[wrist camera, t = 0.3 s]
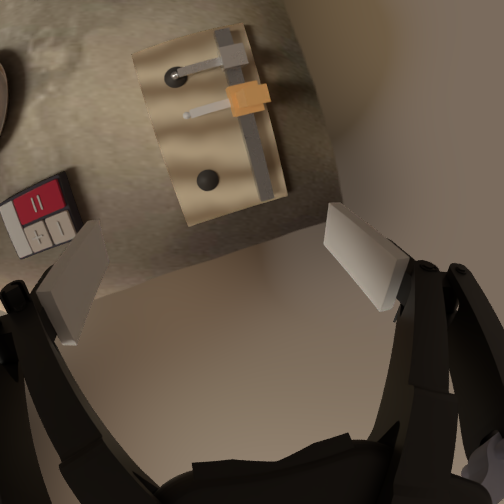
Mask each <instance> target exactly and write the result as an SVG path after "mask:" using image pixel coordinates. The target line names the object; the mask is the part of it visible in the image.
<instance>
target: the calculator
mask: <svg viewBox="0 0 504 504" xmlns="http://www.w3.org/2000/svg"><path fill="white" fill-rule="evenodd" d="M0 214H1V216H2V219H3V222H4V224H5V227H6V229H7V232H8V234H9V236H10V239H11V241H12V243H13V246H14V248H15V250H16V252H17V254H18V256H19V258H20V259H24V258H27V257H29V256H32V255H34V254H37V253H40V252H42V251H45V250H48V249H51V248H53V247H56V246H59V245H62V244H65V243H67V242H70V241H72V240H73V238H74V237H75V236H76V234H77V233H78V232H79V231H80V229H81V228H82V227H83V226H84V225H83V223H82V220H81V217H80V214H79V212H78V209H77V206H76V203H75V200H74V197H73V194H72V191H71V188H70V185H69V182H68V178H67V175H66V172H65V171H63V172H60V173H58V174H56V175H54V176H51V177H49V178H47V179H45V180H43V181H41V182H39V183H37V184H35V185H33V186H31V187H29V188H27V189H25V190H23V191H21V192H19V193H17V194H15V195H13V196H11V197H10V198H8V199H6V200H5V201H3V202H2V203H0Z"/></svg>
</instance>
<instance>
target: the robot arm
mask: <svg viewBox="0 0 504 504" xmlns="http://www.w3.org/2000/svg"><path fill="white" fill-rule="evenodd" d="M324 246H325V247H326V248H327V249H328V250H329V251H330V252H331V253H332V255H333V256H334V257H335V258H336V259H337V261H338V262H339V263H340V264H341V265H342V266H343V268H344V269H345V270H346V271H347V272H348V273H349V275H350V276H351V277H352V278H353V280H354V281H355V282H356V283H357V284H358V286H359V287H360V288H361V289H362V291H363V292H364V293H365V294H366V295H367V297H368V298H369V299H370V300H371V302H372V303H373V304H374V305H375V307H376V308H377V309H378V310H379V312H381V311H386V310H389V309H392V308H393V305H394V303H395V300H396V298H397V299H398V300H399V301H400V303H401V304H400V306H399V308H398V311H397V313H396V316H395V318H394V321H393V322H396V320H397V322H396V329H395V336H394V343H393V348H392V354H391V359H390V364H389V369H388V375H387V379H386V383H385V388H384V392H383V396H382V400H381V404H380V407H379V411H378V415H377V418H376V422H375V425H374V428H373V430H372V432H371V434H370V436H369V437H368V439H367V440H351V438H350V435H349V433H345V434H342V435H339V436H336V437H333V438H330V439H326V440H323V441H320V442H316V443H313V444H311V445H310V446H308V447H306V448H304V449H302V450H300V451H298V452H296V453H294V454H292V455H290V456H288V457H286V458H284V459H282V460H279V461H275V462H266V461H246V460H234V459H231V460H222V461H211V462H196V463H192V468H193V470H192V471H189V472H186V473H183V474H181V475H178V476H176V477H174V478H172V479H171V480H169V481H168V482H166V483H165V484H163V485H162V486H161V487H159V486H158V485H157V484H156V483H155V482H154V481H153V480H152V479H151V478H150V477H149V476H148V475H146V474H145V473H144V472H143V471H142V470H141V469H140V468H139V467H138V466H137V465H136V464H135V462H134V461H133V460H132V459H131V458H130V457H129V456H128V454H127V453H126V452H125V451H124V450H123V448H122V447H121V446H120V445H119V443H118V442H117V441H116V440H115V438H114V437H113V436H112V435H111V433H110V432H109V431H108V429H107V428H106V427H105V425H104V424H103V423H102V421H101V420H100V418H99V417H98V415H97V414H96V413H95V411H94V410H93V408H92V407H91V405H90V404H89V402H88V400H87V399H86V397H85V396H84V394H83V393H82V391H81V389H80V388H79V386H78V384H77V383H76V381H75V379H74V378H73V376H72V374H71V372H70V370H69V369H68V367H67V365H66V363H65V361H64V359H63V357H62V356H61V354H60V352H59V349H58V347H57V346H56V344H55V342H54V341H55V338H56V336H58V338H59V339H60V341H61V343H62V345H77V343H78V340H79V337H80V334H81V332H82V328H83V326H84V323H85V320H86V318H87V315H88V312H89V310H90V307H91V305H92V302H93V300H94V297H95V295H96V292H97V290H98V287H99V285H100V283H101V280H102V278H103V276H104V274H105V271H106V269H107V267H108V265H109V258H108V254H107V250H106V246H105V242H104V238H103V233H102V229H101V224H100V219H96V220H89V221H87V222H86V223H85V225H84V226H83V227H82V228H81V229H80V231H79V232H78V233H77V234H76V236H75V237H74V238H73V240H72V241H71V242H70V243H69V245H68V246H67V247H66V249H65V250H64V251H63V253H62V254H61V255H60V257H59V258H58V260H57V261H56V262H55V264H53V265H52V266H50V267H49V268H48V269H47V270H46V271H45V272H44V273H43V275H42V276H41V278H40V279H39V281H38V283H37V284H36V285H35V287H34V288H33V290H32V291H31V293H30V294H29V292H28V289H27V287H26V285H25V283H24V281H23V280H15V281H13V282H10V283H9V284H7V285H6V286H5V287H4V288H3V289H2V290H1V292H0V300H1V302H2V304H3V306H4V308H5V309H6V311H7V313H8V314H7V315H3V316H0V504H52V502H51V500H50V497H49V495H48V492H47V489H46V486H45V483H44V480H43V477H42V474H41V471H40V467H39V464H38V460H37V456H36V452H35V448H34V444H33V439H32V434H31V429H30V423H29V417H28V411H27V403H26V395H25V384H24V378H25V381H26V384H27V387H28V390H29V392H30V395H31V397H32V400H33V403H34V405H35V407H36V410H37V412H38V414H39V417H40V419H41V421H42V423H43V425H44V428H45V430H46V432H47V434H48V436H49V438H50V440H51V442H52V444H53V445H54V447H55V449H56V451H57V453H58V455H59V457H60V459H61V462H62V463H61V464H59V469H60V472H61V474H62V476H63V477H64V479H65V480H66V482H67V484H68V485H69V487H70V488H71V490H72V491H73V493H74V494H75V496H76V497H77V499H78V500H79V502H80V503H81V504H498V503H499V502H500V501H501V500H502V499H503V498H504V329H503V327H502V325H501V323H500V321H499V319H498V317H497V315H496V313H495V312H494V310H493V309H492V306H491V304H490V303H489V301H488V299H487V297H486V296H485V294H484V293H483V291H482V289H481V288H480V286H479V284H478V283H477V281H476V280H475V278H474V276H473V275H472V273H471V272H470V271H469V270H468V269H467V268H466V267H465V266H464V265H462V264H457V263H452V264H450V266H449V269H448V271H447V272H440V271H439V269H438V268H437V267H436V266H435V265H434V264H432V263H430V262H428V261H424V260H418V261H415V260H414V259H413V258H412V257H411V256H410V255H408V254H407V253H406V252H405V251H403V250H402V249H401V248H400V247H399V246H397V245H396V244H395V243H394V242H393V241H391V240H389V239H387V238H386V237H384V236H383V235H382V234H381V233H379V232H378V231H377V230H375V229H374V228H373V227H372V226H371V225H369V224H368V223H367V222H365V221H364V220H363V219H361V218H360V217H359V216H357V215H356V214H355V213H353V212H352V211H351V210H349V209H348V208H347V207H345V206H344V205H343V204H341V203H329V207H328V215H327V222H326V230H325V237H324ZM458 305H459V308H458V311H457V310H456V309H457V307H458ZM449 371H450V375H451V379H452V383H453V388H454V392H455V394H451V393H449ZM458 414H459V421H460V427H461V434H462V440H463V445H464V450H465V454H466V457H467V460H468V464H467V465H466V466H465V467H464V468H463V469H462V472H461V476H462V477H461V476H458V475H455V474H452V473H451V469H452V464H453V457H454V450H455V442H456V433H457V420H458Z"/></svg>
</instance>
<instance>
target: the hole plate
mask: <svg viewBox="0 0 504 504" xmlns="http://www.w3.org/2000/svg"><path fill="white" fill-rule="evenodd" d="M224 28H229V29H230V33H231V36H232V39H233V42H234V44H238V43H243V45H244V49H245V52H246V55H247V59H248V62H249V63H248V64H247V65H246V66H245V67H243V68H241V70H242V73H243V77H244V80H245V83H246V82H251V81H255V80H257V82H258V85H261V83H260V79H259V75H258V72H257V68H256V65H255V61H254V58H253V54H252V51H251V47H250V44H249V41H248V37H247V34H246V31H245V28H244V24H243V23H239V24H233V25H228V26H223V27H218V28H213V29H209V30H205V31H201V32H197V33H193V34H190V35H186V36H183V37H179V38H176V39H173V40H170V41H166V42H163V43H161V44H158V45H155V46H152V47H149V48H147V49H144V50H141V51H139V52H136V53H134V54H131V55H132V59H133V62H134V66H135V69H136V73H137V76H138V80H139V83H140V87H141V90H142V93H143V97H144V100H145V103H146V106H147V110H148V113H149V116H150V119H151V122H152V125H153V129H154V132H155V135H156V138H157V141H158V144H159V147H160V150H161V153H162V155H163V158H164V161H165V164H166V167H167V170H168V173H169V175H170V178H171V181H172V184H173V187H174V189H175V192H176V195H177V198H178V200H179V203H180V206H181V208H182V211H183V214H184V216H185V219H186V221H187V224H188V227H190V226H192V225H195V224H198V223H201V222H204V221H207V220H211V219H214V218H217V217H220V216H223V215H226V214H229V213H232V212H235V211H239V210H242V209H245V208H248V207H251V206H255V205H258V204H261V203H265V202H268V201H271V200H275V199H278V198H281V197H285V196H288V195H287V190H286V185H285V181H284V176H283V172H282V167H281V163H280V158H279V154H278V150H277V146H276V141H275V137H274V133H273V129H272V125H271V121H270V117H269V113H268V109H267V105H266V103H263V104H264V108H265V110H263V111H258V112H254V117H255V121H256V125H257V128H258V132H259V136H260V140H261V144H262V148H263V152H264V156H265V160H266V164H267V168H268V172H269V176H270V181H271V185H272V189H273V193H274V198H273V199H270V200H267V201H263V202H261V200H260V199H259V197H258V193H257V189H256V186H255V182H254V178H253V174H252V170H251V167H250V163H249V159H248V155H247V152H246V148H245V144H244V141H243V137H242V133H241V130H240V126H239V122H238V119H237V117H233V115H232V111H231V108H230V107H229V108H225V109H222V110H218V111H214V112H211V113H208V114H204V115H201V116H198V117H195V118H191V117H190V118H189V119H184V118H183V114H184V113H185V112H189V110H191V109H194V108H197V107H200V106H204V105H207V104H210V103H214V102H217V101H221V100H225V99H228V97H227V94H226V90H225V89H226V88H227V87H228V83H227V80H226V76H225V73H224V72H222V69H221V66H220V67H216V68H212V69H208V70H204V71H201V72H197V73H194V74H190V75H187V76H184V77H181V78H179V79H178V80H173V79H172V77H171V74H172V73H173V72H177V73H178V71H177V69H179V68H182V67H185V66H188V65H192V64H195V63H199V62H202V61H206V60H210V59H214V58H218V55H217V51H218V49H217V46H216V42H215V39H214V36H213V33H214V31H215V30H219V29H224ZM189 113H190V112H189Z"/></svg>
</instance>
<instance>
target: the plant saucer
mask: <svg viewBox="0 0 504 504" xmlns="http://www.w3.org/2000/svg"><path fill="white" fill-rule="evenodd" d="M8 105H9V86H8V79H7V75H6V72H5V70H4V68H3V66H2V65H1V63H0V136H1V134H2V131H3V128H4V125H5V121H6V117H7V112H8Z"/></svg>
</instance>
